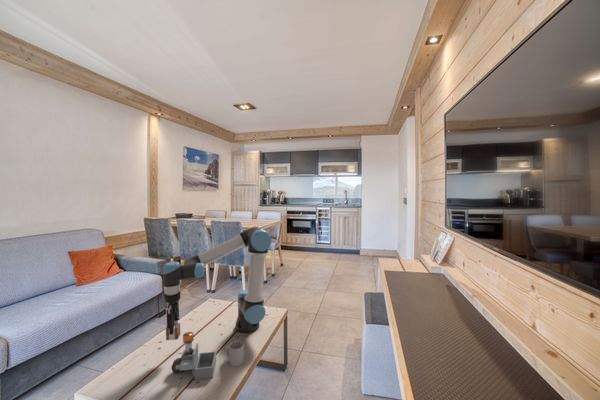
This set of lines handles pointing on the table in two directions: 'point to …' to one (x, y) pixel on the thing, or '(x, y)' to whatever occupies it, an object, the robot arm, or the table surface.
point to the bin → (205, 365)
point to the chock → (177, 331)
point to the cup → (235, 353)
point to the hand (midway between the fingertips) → (173, 336)
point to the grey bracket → (186, 362)
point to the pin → (188, 342)
